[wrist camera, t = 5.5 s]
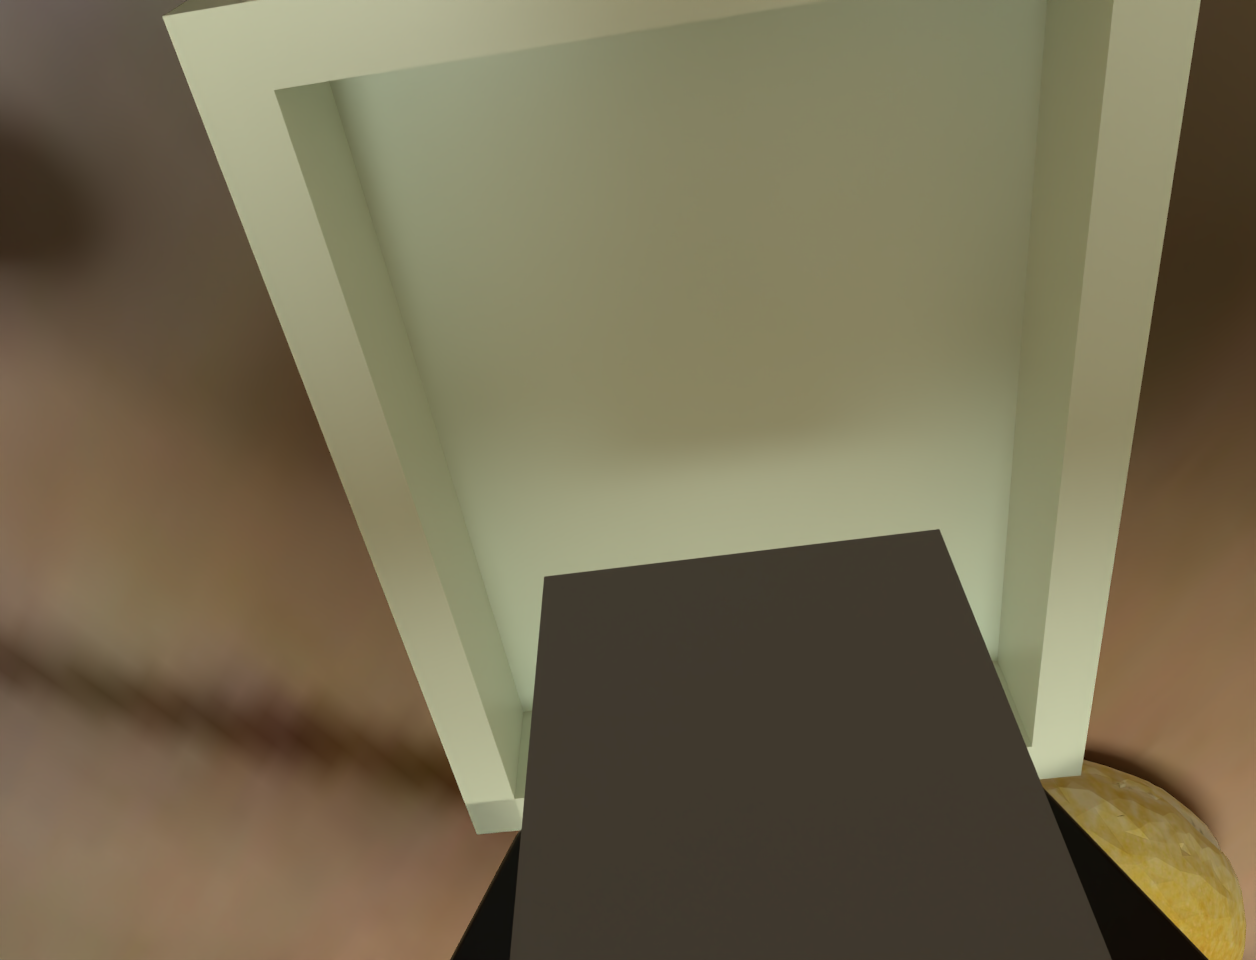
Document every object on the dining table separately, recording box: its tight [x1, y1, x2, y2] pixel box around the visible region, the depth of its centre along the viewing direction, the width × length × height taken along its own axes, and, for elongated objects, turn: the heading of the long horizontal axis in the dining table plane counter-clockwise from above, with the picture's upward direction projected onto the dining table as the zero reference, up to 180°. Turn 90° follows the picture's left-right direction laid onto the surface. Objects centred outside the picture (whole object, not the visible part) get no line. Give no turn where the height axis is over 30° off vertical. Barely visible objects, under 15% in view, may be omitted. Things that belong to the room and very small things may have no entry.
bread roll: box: [1040, 759, 1246, 960], centre depth 20 cm, size 8×9×4 cm
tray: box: [162, 0, 1201, 834], centre depth 14 cm, size 10×13×2 cm
